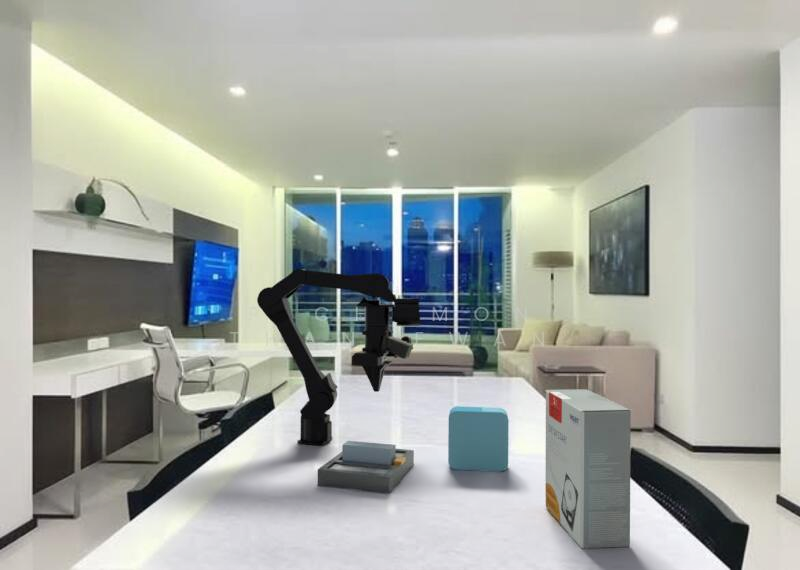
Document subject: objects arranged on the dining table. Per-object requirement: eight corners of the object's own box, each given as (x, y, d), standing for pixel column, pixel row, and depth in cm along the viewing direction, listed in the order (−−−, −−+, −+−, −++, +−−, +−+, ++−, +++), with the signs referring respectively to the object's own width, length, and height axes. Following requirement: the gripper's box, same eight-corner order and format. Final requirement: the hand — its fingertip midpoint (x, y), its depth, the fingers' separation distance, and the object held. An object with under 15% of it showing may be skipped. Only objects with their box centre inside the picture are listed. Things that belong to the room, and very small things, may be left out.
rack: (317, 485, 106) (317, 466, 106) (351, 458, 122) (351, 441, 122) (390, 493, 102) (390, 473, 102) (414, 464, 118) (414, 447, 118)
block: (342, 475, 112) (342, 444, 112) (347, 470, 115) (348, 440, 115) (390, 480, 109) (391, 449, 109) (395, 475, 112) (395, 444, 112)
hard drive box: (543, 507, 96) (544, 389, 96) (587, 506, 97) (588, 388, 97) (580, 550, 80) (581, 408, 81) (632, 548, 81) (633, 408, 81)
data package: (507, 465, 119) (507, 407, 119) (508, 472, 114) (508, 412, 114) (449, 462, 120) (449, 405, 120) (448, 469, 116) (448, 410, 116)
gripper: (398, 329, 125) (398, 400, 125) (419, 324, 143) (418, 386, 143) (351, 328, 128) (350, 397, 128) (377, 323, 146) (376, 384, 146)
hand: (376, 391), depth 136 cm, fingers closed
